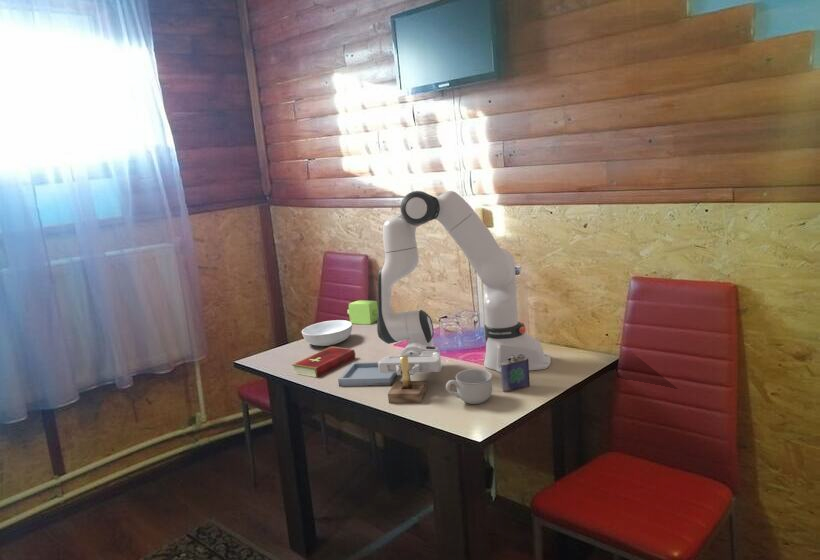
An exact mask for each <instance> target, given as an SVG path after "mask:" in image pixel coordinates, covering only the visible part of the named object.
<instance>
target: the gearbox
mask: <svg viewBox="0 0 820 560" xmlns="http://www.w3.org/2000/svg"><path fill="white" fill-rule="evenodd" d="M347 315H348V316H349V317H348V318H349V321H350V322H351V323H352V324H355V325H358V324H359V325H372V324H374V323H375V322H378V300H363V299H362V300H361V299H359V300H356V301H353V302H350V303H348V309H347Z"/></svg>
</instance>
